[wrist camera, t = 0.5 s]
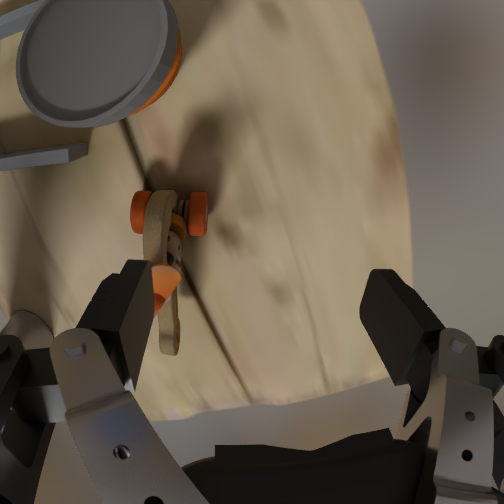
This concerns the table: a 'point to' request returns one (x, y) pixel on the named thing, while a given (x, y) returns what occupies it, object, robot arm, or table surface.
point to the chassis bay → (39, 156)
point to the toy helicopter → (167, 249)
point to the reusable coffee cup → (97, 59)
